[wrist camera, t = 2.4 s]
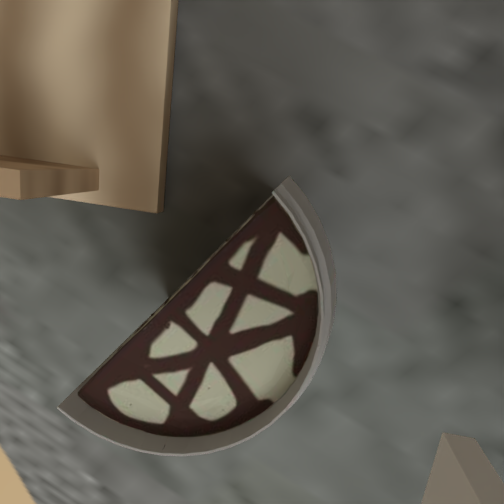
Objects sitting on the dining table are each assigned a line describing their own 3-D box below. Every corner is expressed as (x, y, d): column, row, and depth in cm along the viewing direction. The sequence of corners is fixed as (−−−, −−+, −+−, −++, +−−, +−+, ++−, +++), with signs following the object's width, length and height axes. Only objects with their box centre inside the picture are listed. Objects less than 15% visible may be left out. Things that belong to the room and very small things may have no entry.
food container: (222, 379, 24) (166, 524, 14) (153, 312, 23) (47, 416, 14) (371, 251, 21) (430, 326, 11) (294, 171, 20) (286, 177, 11)
